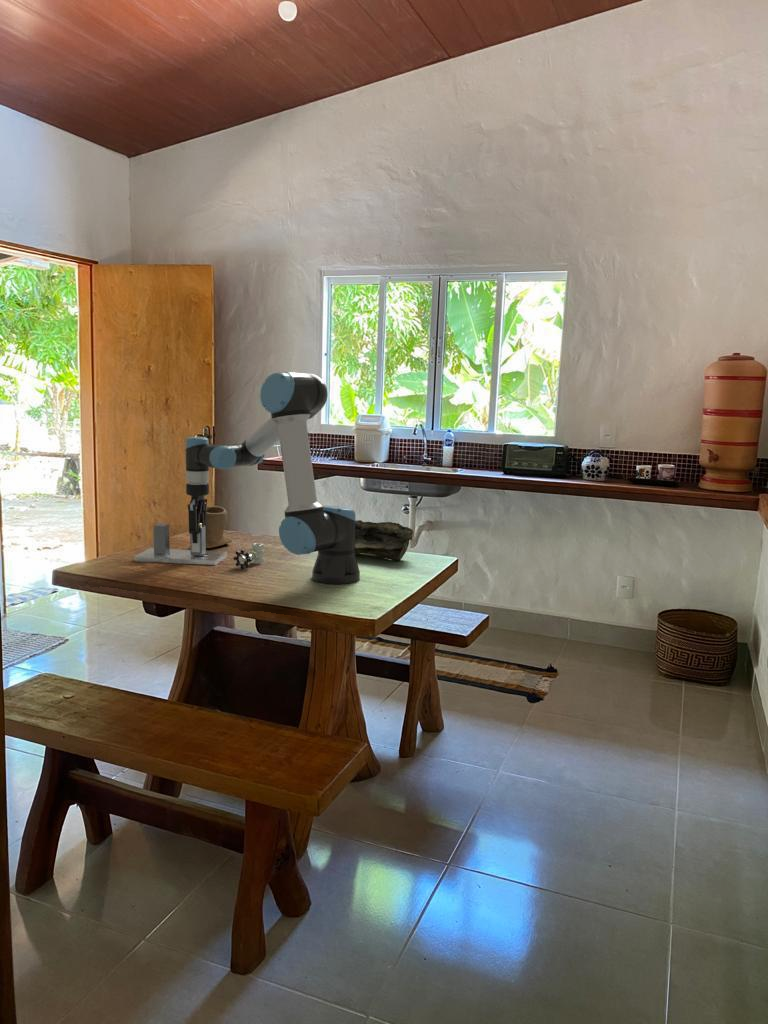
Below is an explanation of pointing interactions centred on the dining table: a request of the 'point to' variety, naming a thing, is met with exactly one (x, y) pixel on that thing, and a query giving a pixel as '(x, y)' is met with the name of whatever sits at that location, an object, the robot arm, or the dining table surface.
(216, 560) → the grey base with knobs
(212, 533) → the stone cup
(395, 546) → the rock
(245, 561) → the valve
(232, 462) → the robot arm
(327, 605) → the dining table surface
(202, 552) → the block
